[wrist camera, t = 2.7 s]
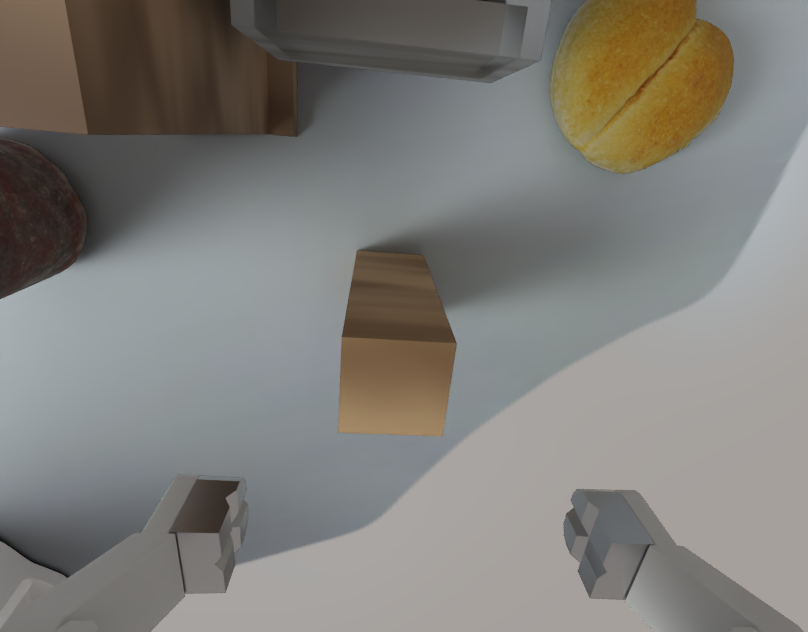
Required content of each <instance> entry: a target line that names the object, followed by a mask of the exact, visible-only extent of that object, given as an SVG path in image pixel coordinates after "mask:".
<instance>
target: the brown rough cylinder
mask: <svg viewBox="0 0 808 632" xmlns="http://www.w3.org/2000/svg"><path fill="white" fill-rule="evenodd" d="M86 224H87V216H86V213H85V211H84V208H83V205H82V204H81V203H80V201H79V198H78V195H77V194H76V193H75V191H74V190H73V188H72V186H71V185H70V183H69V182H68V180H67V178H66V176H65V175H64V174H63V172H62V171H61V170H60V169H59V168H58V167H56V166H55V165H54V164H52V163H51V162H50V161H49V160H47V159H46V158H45V157H44V156H43V155H41V154H40V153H39V152H38V151H37V150H35V149H34V148H33V147H31V146H29V145H26V144H23V143H20V142H17V141H14V140H11V139H4V138H0V299H2V298H4V297H6V296H9V295H11V294H13V293H15V292H18V291H20V290H22V289H25V288H27V287H29V286H32V285H34V284H36V283H38V282H40V281H42V280H45V279H47V278H50V277H52V276H54V275H56V274H58V273H60V272H62V271H64V270H65V269H67V268H68V267H70V266H71V265H72V264H73V263H74V262H75V261H76V259H77V257H78V255H79V253H80V251H81V249H82V248H83V245H84V241H85V236H86V232H87V229H86Z"/></svg>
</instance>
